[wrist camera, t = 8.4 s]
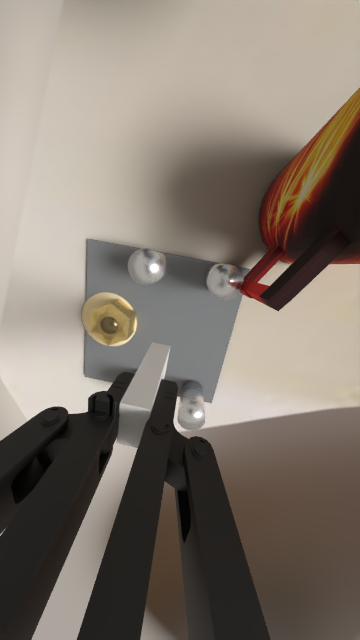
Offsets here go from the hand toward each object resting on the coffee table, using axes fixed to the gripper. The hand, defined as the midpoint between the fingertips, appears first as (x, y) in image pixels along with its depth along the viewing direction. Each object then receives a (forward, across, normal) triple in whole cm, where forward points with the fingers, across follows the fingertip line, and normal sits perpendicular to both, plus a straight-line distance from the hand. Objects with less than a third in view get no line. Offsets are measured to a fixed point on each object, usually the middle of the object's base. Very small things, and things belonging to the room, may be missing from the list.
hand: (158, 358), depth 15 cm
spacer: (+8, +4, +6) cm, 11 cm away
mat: (+8, -2, -1) cm, 8 cm away
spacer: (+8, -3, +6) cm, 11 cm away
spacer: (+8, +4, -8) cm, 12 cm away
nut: (+8, -7, -1) cm, 10 cm away
